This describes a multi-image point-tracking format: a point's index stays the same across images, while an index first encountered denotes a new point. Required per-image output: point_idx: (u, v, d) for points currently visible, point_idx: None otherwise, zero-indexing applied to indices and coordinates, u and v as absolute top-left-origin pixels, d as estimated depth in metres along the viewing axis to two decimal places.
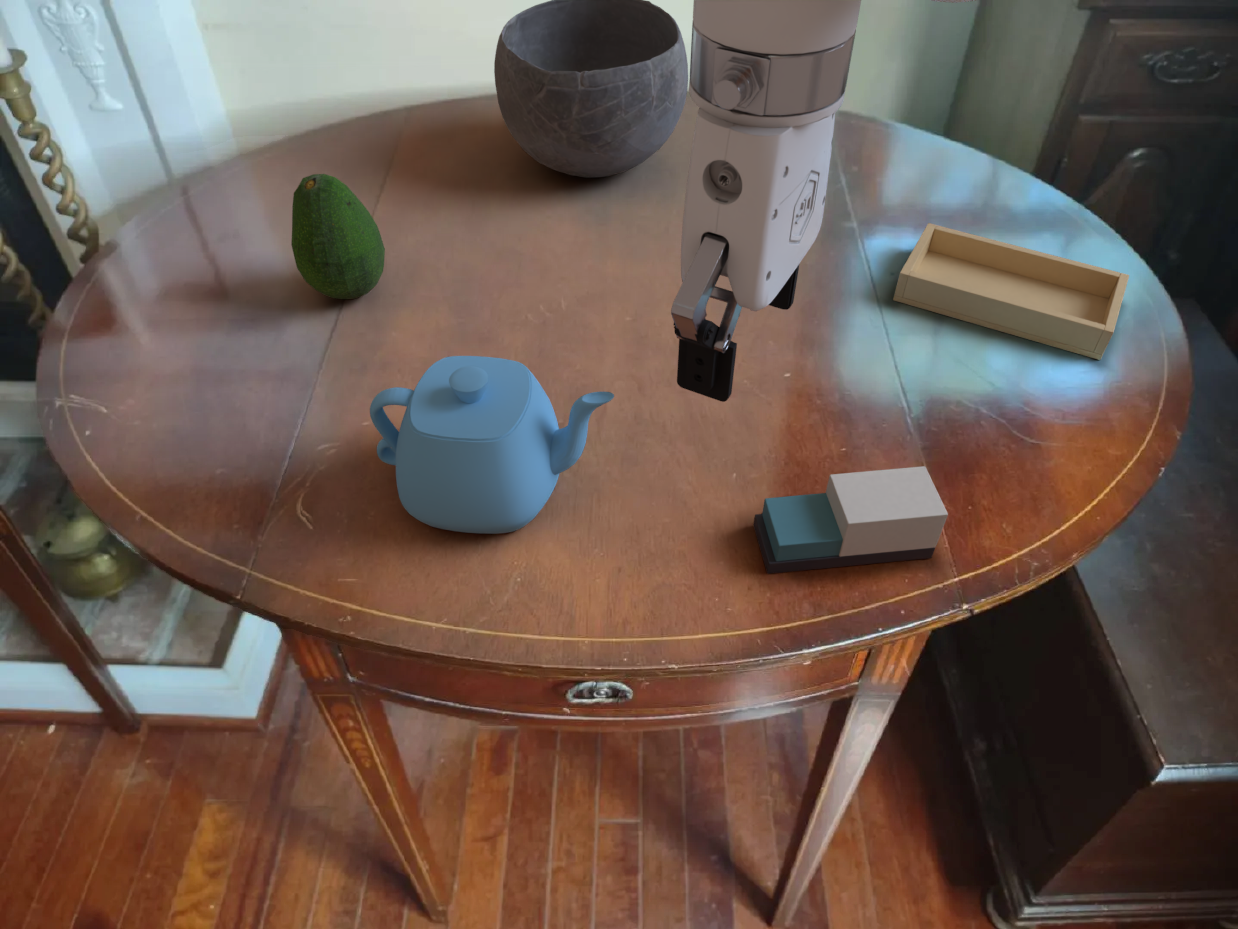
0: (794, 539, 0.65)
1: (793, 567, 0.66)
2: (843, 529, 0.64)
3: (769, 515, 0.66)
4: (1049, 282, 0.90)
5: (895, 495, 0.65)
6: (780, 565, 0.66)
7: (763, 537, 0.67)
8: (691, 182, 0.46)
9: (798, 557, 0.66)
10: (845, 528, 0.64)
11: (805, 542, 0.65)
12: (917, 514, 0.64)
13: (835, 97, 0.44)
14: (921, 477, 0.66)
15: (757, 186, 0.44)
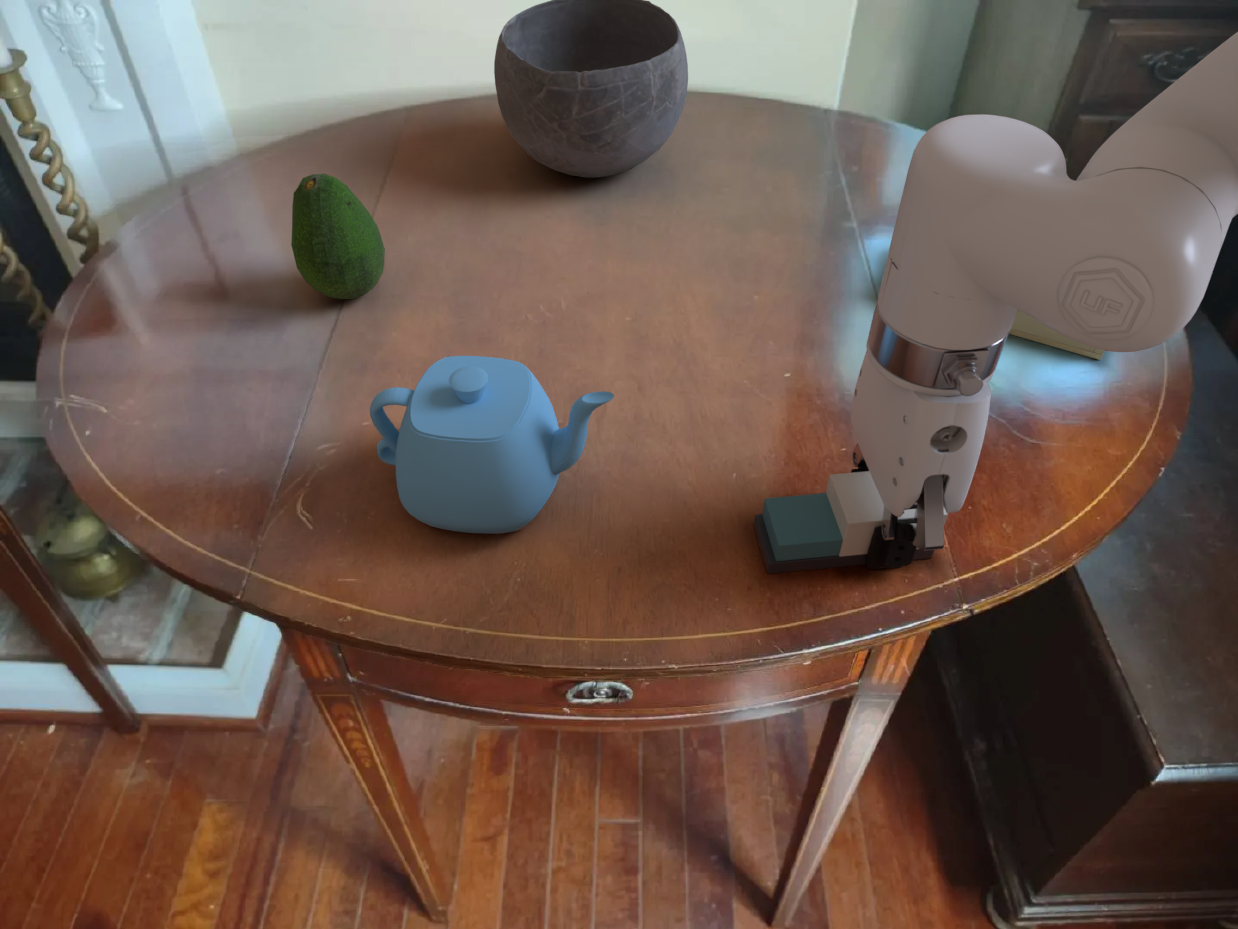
0: (795, 539, 0.65)
1: (793, 567, 0.66)
2: (843, 529, 0.64)
3: (769, 515, 0.66)
4: None
5: None
6: (780, 565, 0.66)
7: (763, 537, 0.67)
8: (917, 446, 0.55)
9: (798, 557, 0.66)
10: (845, 528, 0.64)
11: (805, 542, 0.65)
12: None
13: None
14: None
15: (978, 433, 0.55)
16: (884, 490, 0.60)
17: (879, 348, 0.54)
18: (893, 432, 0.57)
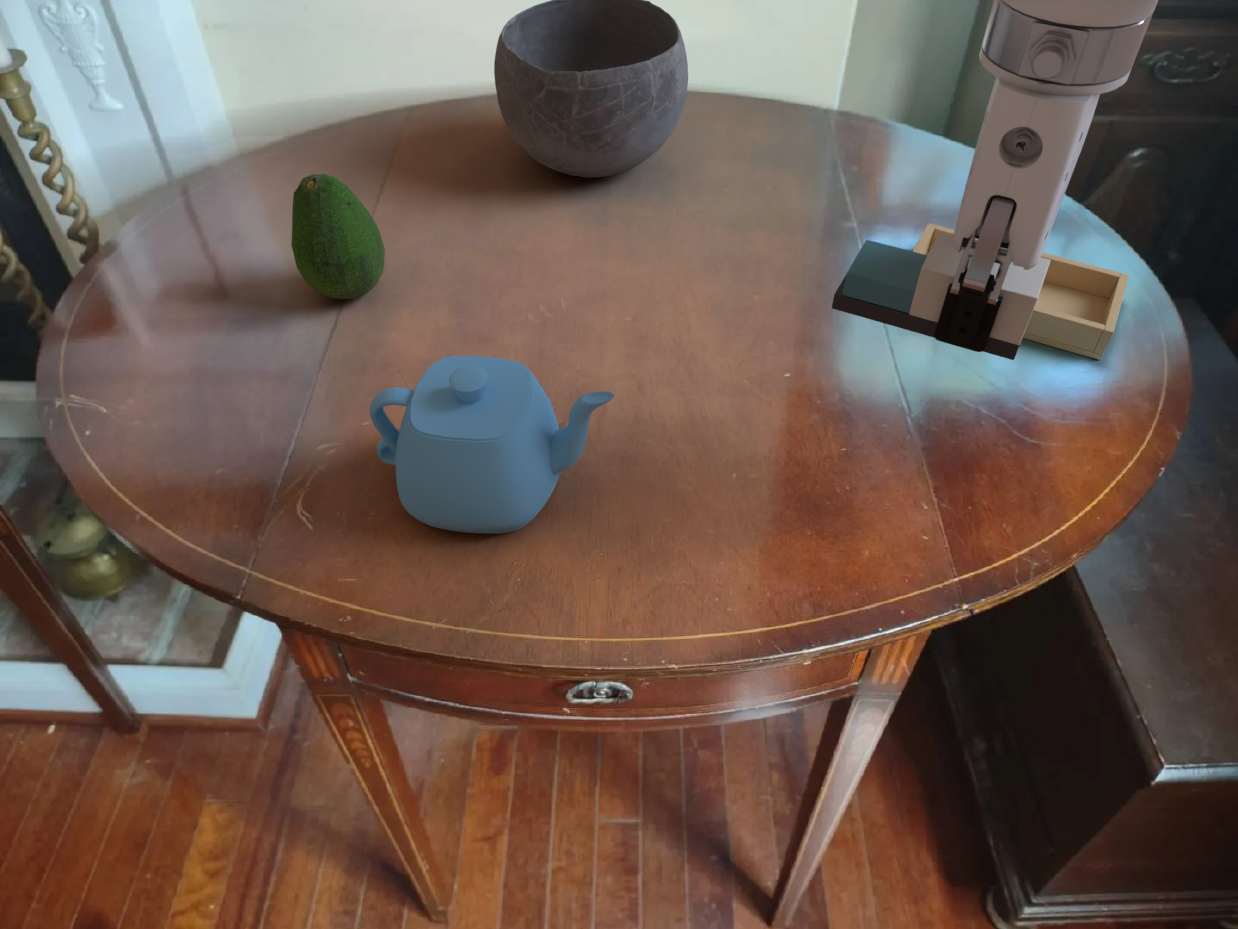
0: (867, 273, 0.61)
1: (859, 310, 0.63)
2: None
3: (859, 252, 0.63)
4: (1049, 282, 0.90)
5: (993, 267, 0.58)
6: (845, 301, 0.63)
7: None
8: (986, 148, 0.50)
9: (865, 298, 0.62)
10: (919, 276, 0.59)
11: (875, 280, 0.61)
12: (1002, 287, 0.57)
13: (1130, 67, 0.48)
14: (1037, 265, 0.59)
15: (1057, 150, 0.48)
16: None
17: (986, 29, 0.49)
18: (977, 141, 0.52)
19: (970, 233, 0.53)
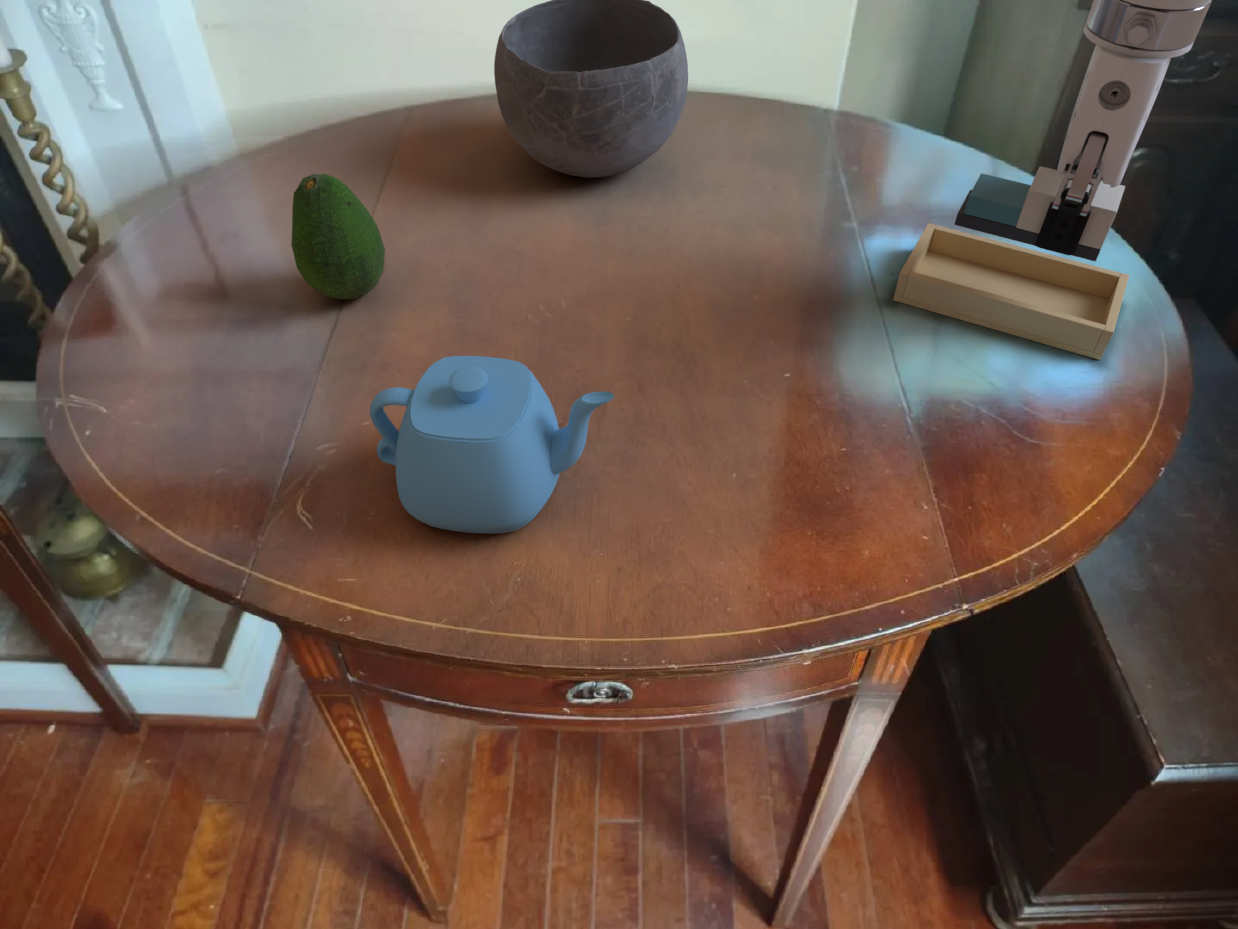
0: (984, 196, 0.81)
1: (976, 225, 0.83)
2: (1025, 199, 0.80)
3: (976, 182, 0.83)
4: (1049, 282, 0.90)
5: None
6: (966, 218, 0.83)
7: (966, 200, 0.84)
8: (1088, 96, 0.70)
9: (982, 215, 0.82)
10: (1026, 197, 0.79)
11: (991, 201, 0.81)
12: None
13: (1193, 39, 0.68)
14: (1115, 189, 0.79)
15: (1141, 97, 0.68)
16: (1061, 153, 0.75)
17: (1090, 11, 0.70)
18: (1080, 92, 0.72)
19: (1072, 160, 0.73)
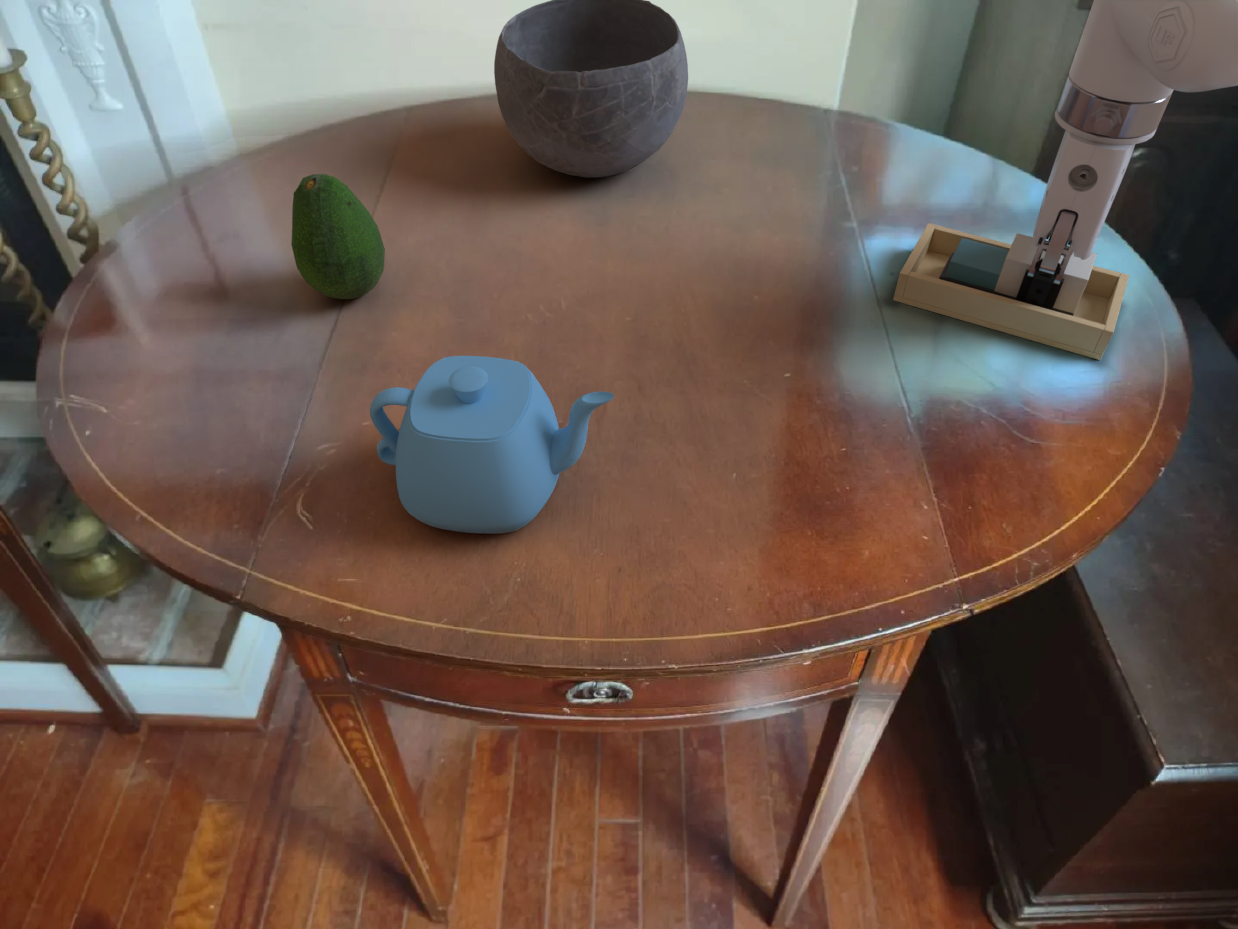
0: (964, 262, 0.86)
1: None
2: (1003, 266, 0.84)
3: None
4: None
5: None
6: None
7: (948, 263, 0.89)
8: (1058, 178, 0.74)
9: (963, 279, 0.87)
10: (1003, 263, 0.84)
11: (970, 266, 0.86)
12: None
13: (1156, 126, 0.72)
14: None
15: (1107, 180, 0.73)
16: None
17: (1060, 98, 0.74)
18: (1051, 172, 0.76)
19: (1045, 234, 0.77)
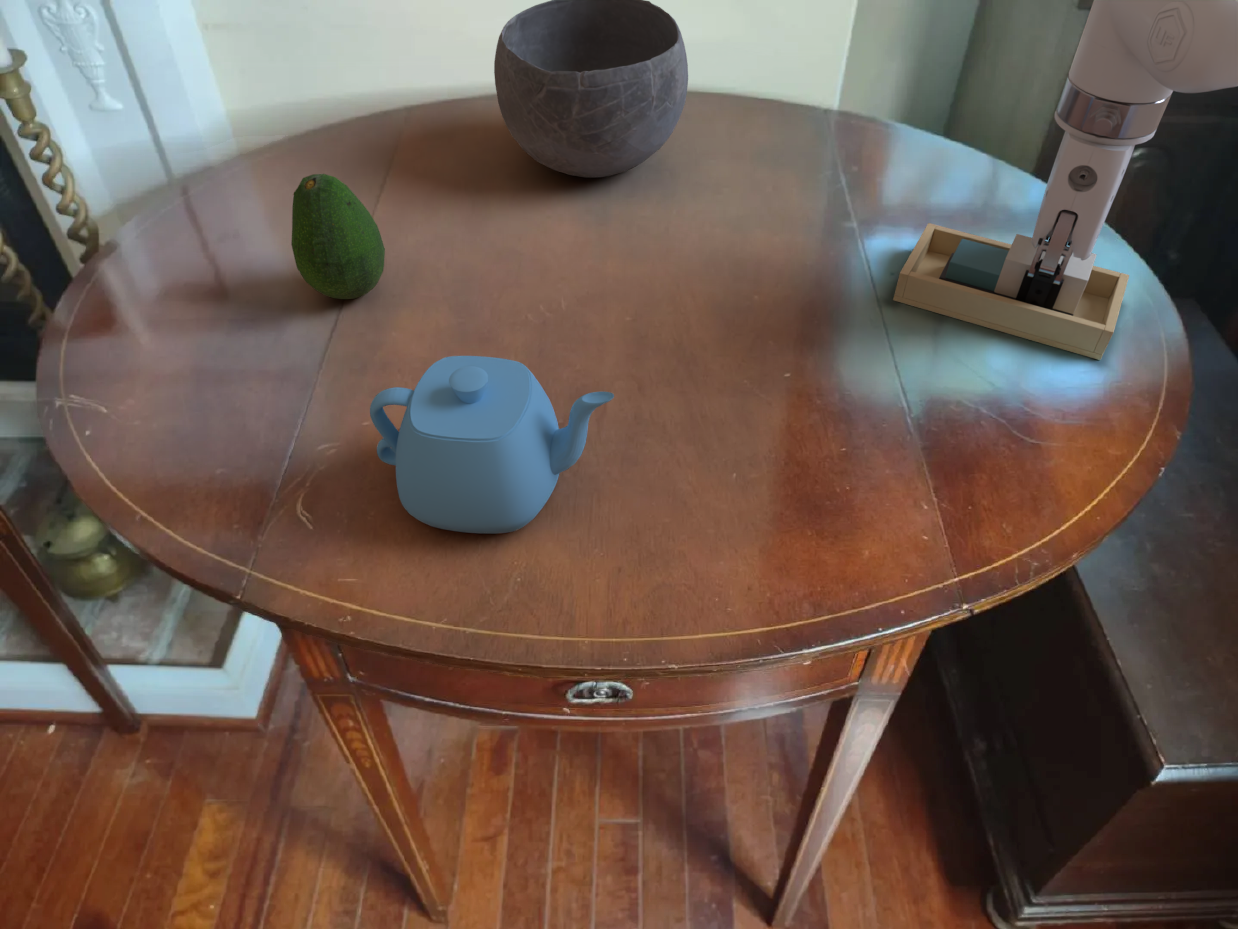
0: (964, 262, 0.86)
1: None
2: (1002, 266, 0.84)
3: (957, 247, 0.88)
4: None
5: None
6: None
7: (948, 264, 0.89)
8: (1058, 178, 0.75)
9: (962, 280, 0.87)
10: (1003, 264, 0.84)
11: (970, 267, 0.86)
12: None
13: (1156, 127, 0.72)
14: None
15: (1107, 181, 0.73)
16: None
17: (1060, 99, 0.74)
18: (1051, 173, 0.76)
19: (1044, 235, 0.78)
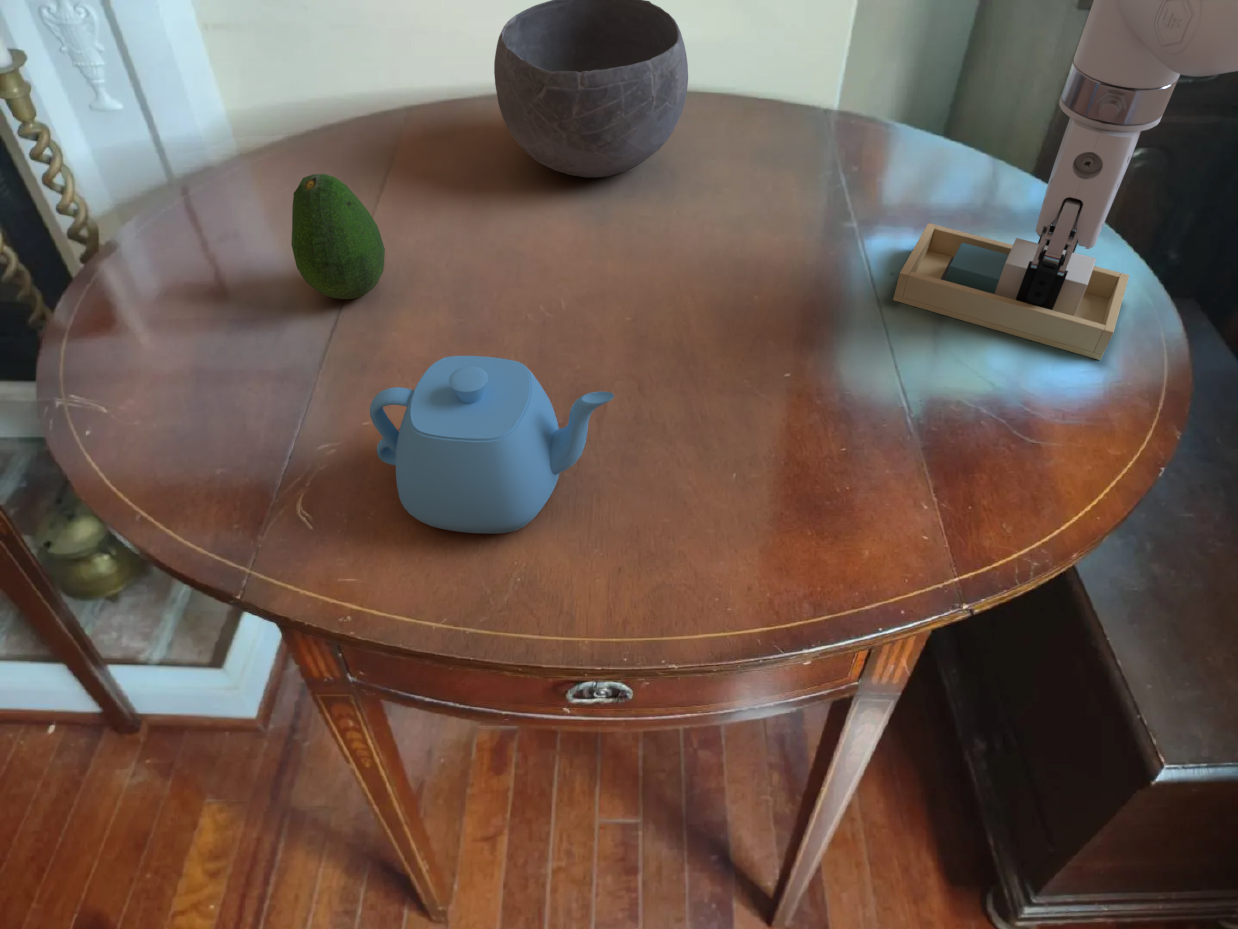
0: (964, 266, 0.86)
1: None
2: (1002, 270, 0.85)
3: (957, 251, 0.88)
4: None
5: None
6: None
7: (947, 268, 0.89)
8: (1063, 166, 0.74)
9: (962, 284, 0.87)
10: (1003, 268, 0.84)
11: (970, 271, 0.86)
12: None
13: (1162, 113, 0.72)
14: (1086, 262, 0.84)
15: (1112, 167, 0.72)
16: None
17: (1065, 85, 0.74)
18: (1056, 160, 0.76)
19: (1049, 223, 0.77)
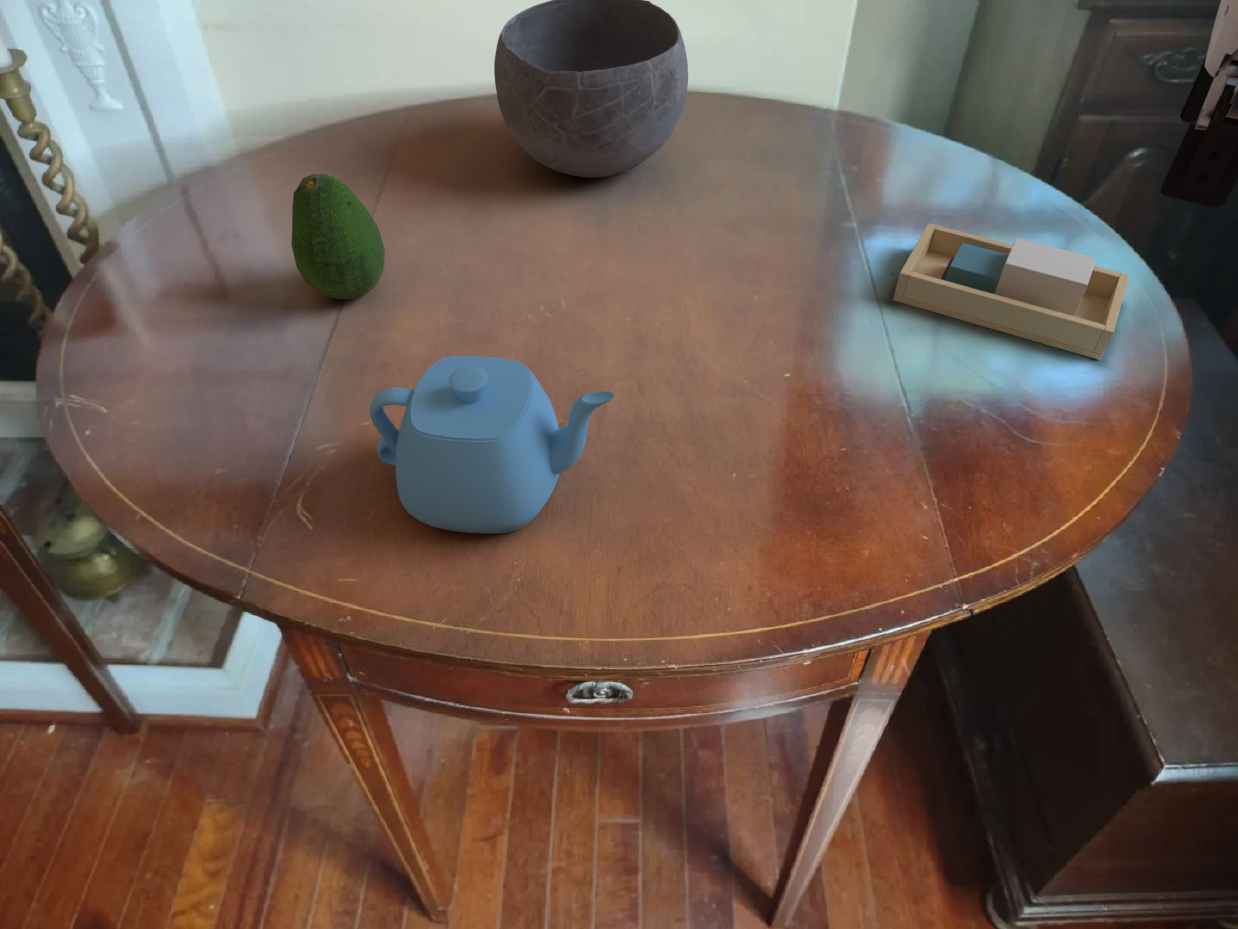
0: (964, 266, 0.86)
1: None
2: (1002, 270, 0.85)
3: (957, 251, 0.88)
4: None
5: (1056, 263, 0.83)
6: None
7: (947, 268, 0.89)
8: None
9: (962, 284, 0.87)
10: (1003, 268, 0.84)
11: (970, 271, 0.86)
12: (1063, 276, 0.82)
13: None
14: (1086, 262, 0.84)
15: None
16: (1212, 41, 0.48)
17: None
18: None
19: (1236, 47, 0.46)
